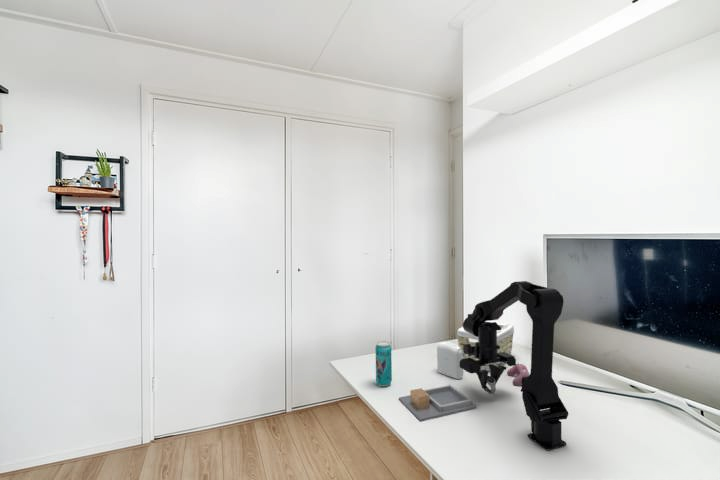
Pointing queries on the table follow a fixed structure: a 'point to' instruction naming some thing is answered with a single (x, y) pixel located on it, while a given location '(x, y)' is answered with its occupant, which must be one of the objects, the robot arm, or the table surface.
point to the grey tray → (436, 402)
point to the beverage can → (383, 363)
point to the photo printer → (449, 359)
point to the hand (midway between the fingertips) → (488, 387)
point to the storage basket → (502, 339)
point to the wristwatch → (491, 385)
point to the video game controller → (518, 373)
